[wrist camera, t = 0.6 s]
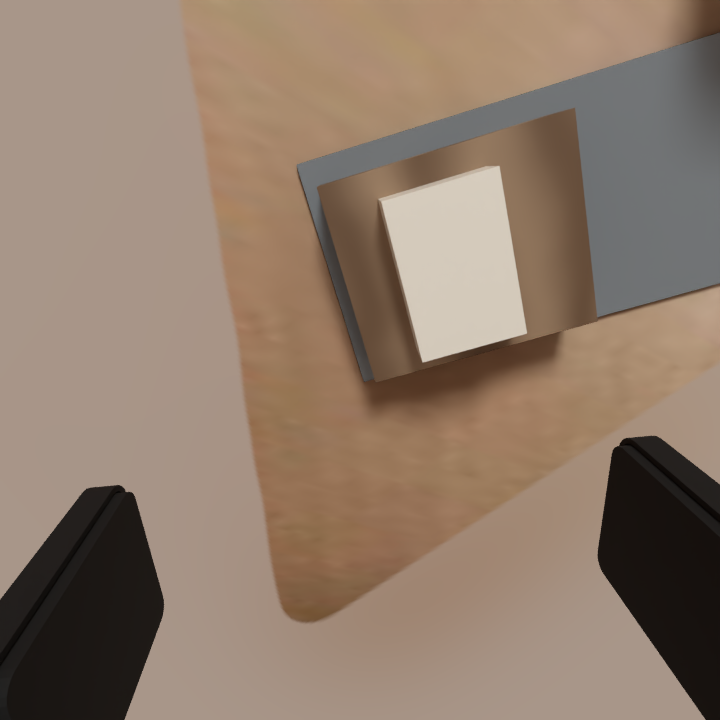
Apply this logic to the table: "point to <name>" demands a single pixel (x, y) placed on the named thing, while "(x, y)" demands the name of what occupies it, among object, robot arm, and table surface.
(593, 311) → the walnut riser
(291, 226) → the table surface
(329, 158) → the rubber mat
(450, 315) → the cream tile
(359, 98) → the table surface
